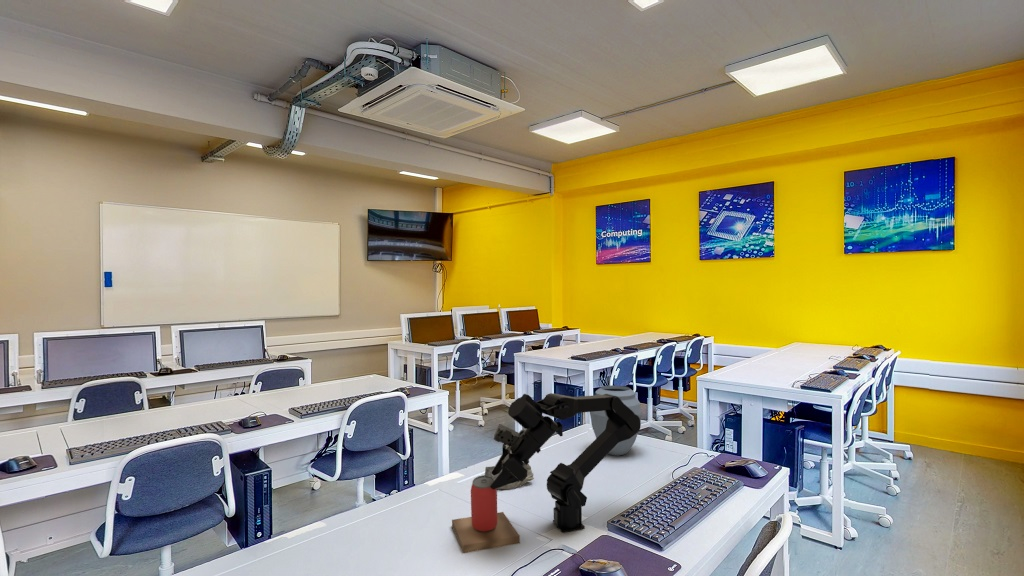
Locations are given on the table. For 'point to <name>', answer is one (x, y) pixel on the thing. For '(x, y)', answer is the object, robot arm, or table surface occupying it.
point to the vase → (601, 419)
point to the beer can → (483, 504)
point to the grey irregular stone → (515, 484)
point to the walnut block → (485, 534)
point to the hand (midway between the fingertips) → (491, 480)
